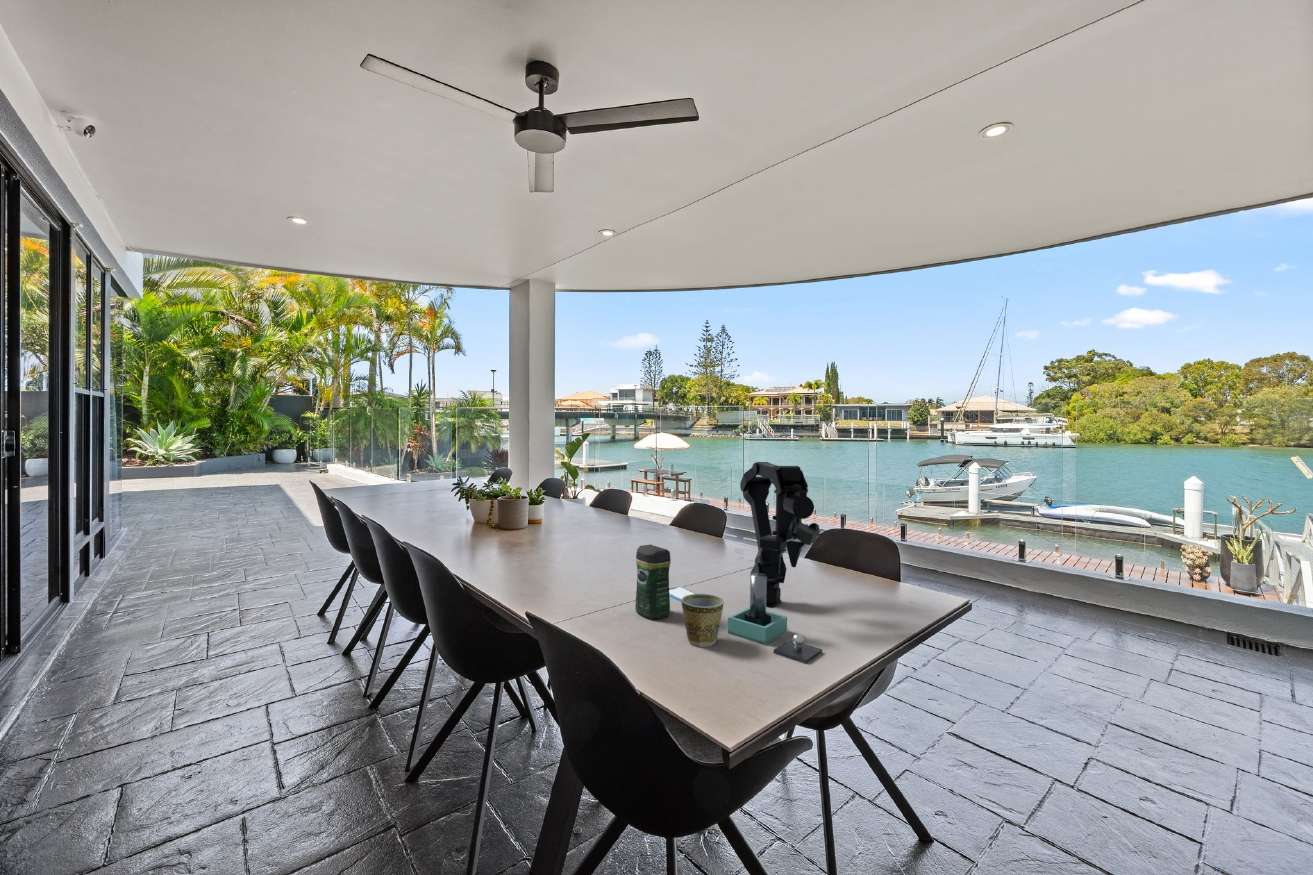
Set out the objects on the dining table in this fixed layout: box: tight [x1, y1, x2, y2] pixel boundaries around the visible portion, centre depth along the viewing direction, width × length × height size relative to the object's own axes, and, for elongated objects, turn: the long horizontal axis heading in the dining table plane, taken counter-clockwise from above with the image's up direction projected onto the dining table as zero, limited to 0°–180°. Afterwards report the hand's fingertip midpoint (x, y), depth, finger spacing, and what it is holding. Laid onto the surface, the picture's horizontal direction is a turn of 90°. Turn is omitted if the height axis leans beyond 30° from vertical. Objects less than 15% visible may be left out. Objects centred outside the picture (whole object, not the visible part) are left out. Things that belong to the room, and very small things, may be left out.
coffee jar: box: [634, 544, 672, 619], centre depth 147 cm, size 10×8×19 cm
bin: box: [727, 606, 788, 646], centre depth 135 cm, size 11×11×4 cm
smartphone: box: [669, 586, 697, 603], centre depth 162 cm, size 8×1×15 cm
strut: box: [745, 573, 771, 626], centre depth 135 cm, size 5×5×14 cm
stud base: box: [773, 633, 823, 665], centre depth 123 cm, size 8×8×4 cm
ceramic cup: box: [681, 593, 724, 648], centre depth 130 cm, size 13×10×10 cm
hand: (785, 570), depth 145 cm, fingers open, 9 cm apart
